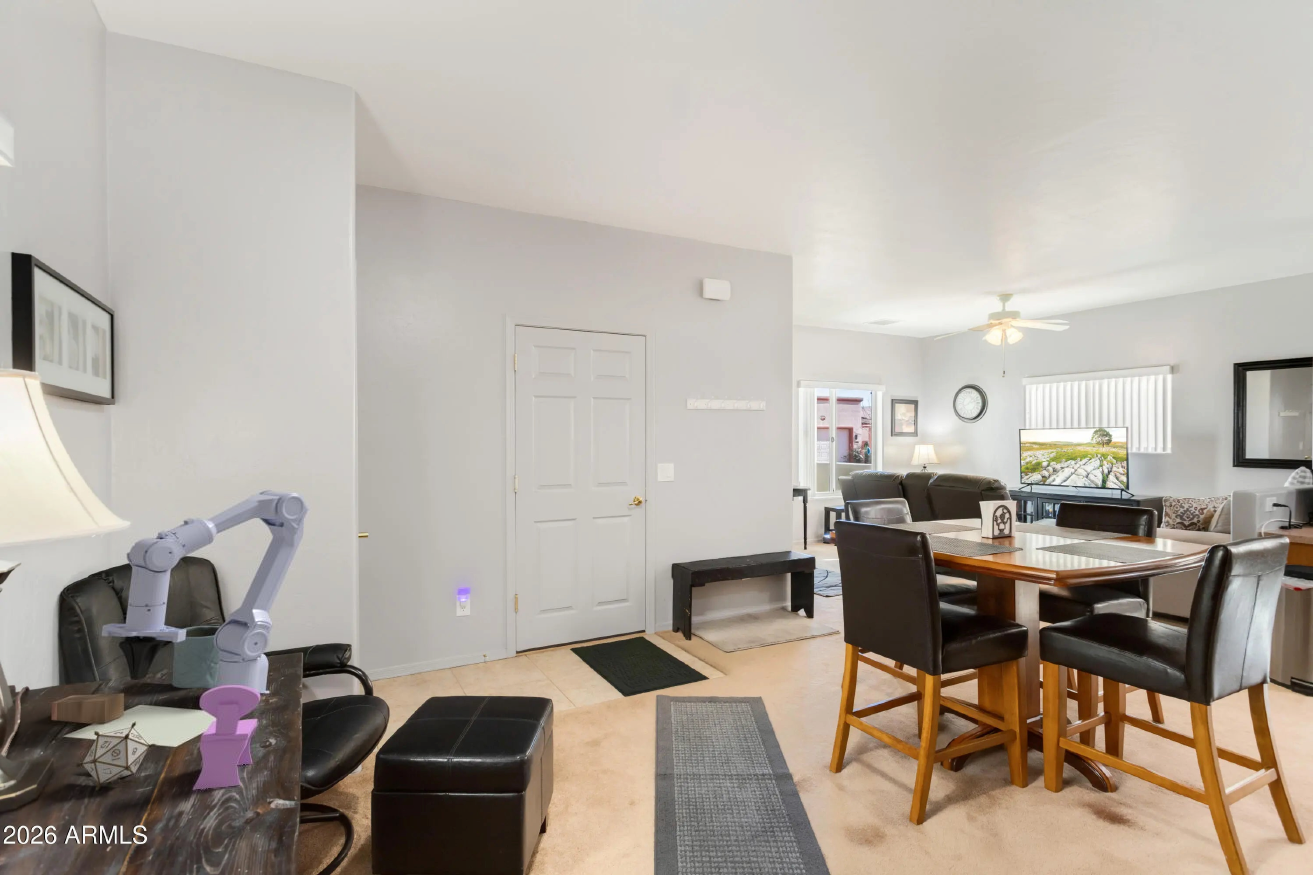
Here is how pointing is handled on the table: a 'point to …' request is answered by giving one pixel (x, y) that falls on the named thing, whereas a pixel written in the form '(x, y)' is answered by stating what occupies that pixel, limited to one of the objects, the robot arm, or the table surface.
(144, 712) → the board
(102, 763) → the game die
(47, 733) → the table surface
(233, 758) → the toy chair
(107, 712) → the walnut block
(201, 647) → the green cylindrical pot
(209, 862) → the table surface
